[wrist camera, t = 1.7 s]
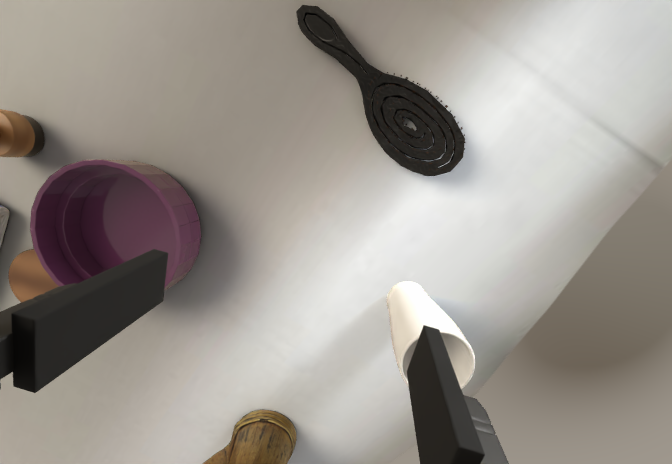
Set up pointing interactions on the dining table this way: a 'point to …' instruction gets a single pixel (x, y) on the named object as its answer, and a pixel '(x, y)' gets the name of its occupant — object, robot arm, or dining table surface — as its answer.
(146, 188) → the bowl
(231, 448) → the wooden mug
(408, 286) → the white tumbler
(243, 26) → the dining table surface
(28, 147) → the dish brush
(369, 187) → the dining table surface
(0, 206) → the dish towel
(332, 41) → the hairbrush
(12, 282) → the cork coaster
